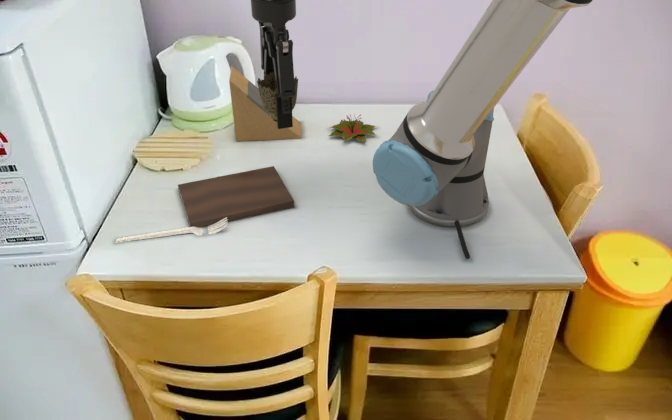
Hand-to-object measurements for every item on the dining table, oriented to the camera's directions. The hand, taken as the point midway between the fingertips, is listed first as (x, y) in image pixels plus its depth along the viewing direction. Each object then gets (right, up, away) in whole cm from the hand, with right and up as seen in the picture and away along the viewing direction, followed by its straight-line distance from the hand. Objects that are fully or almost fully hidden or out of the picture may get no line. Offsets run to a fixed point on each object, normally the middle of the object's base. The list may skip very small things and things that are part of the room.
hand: (279, 117), depth 113 cm
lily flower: (+15, 0, +27) cm, 31 cm away
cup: (0, 0, 0) cm, 0 cm away
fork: (-19, -22, -4) cm, 30 cm away
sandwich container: (-5, +1, +28) cm, 29 cm away
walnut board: (-9, -15, +5) cm, 18 cm away
